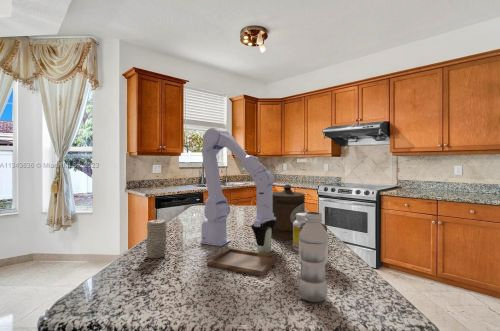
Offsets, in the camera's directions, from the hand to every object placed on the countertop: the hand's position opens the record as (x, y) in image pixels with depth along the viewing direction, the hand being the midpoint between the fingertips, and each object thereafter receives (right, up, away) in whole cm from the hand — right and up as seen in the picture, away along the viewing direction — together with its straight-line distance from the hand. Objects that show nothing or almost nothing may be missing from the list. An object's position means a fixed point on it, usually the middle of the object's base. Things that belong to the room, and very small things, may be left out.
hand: (264, 242), depth 94 cm
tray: (-7, -3, -11) cm, 13 cm away
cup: (0, -3, 0) cm, 3 cm away
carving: (-36, -3, -6) cm, 37 cm away
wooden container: (+11, -3, +19) cm, 22 cm away
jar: (+15, -3, -11) cm, 19 cm away
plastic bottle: (+9, -4, -33) cm, 34 cm away
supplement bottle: (+14, -3, +2) cm, 14 cm away
